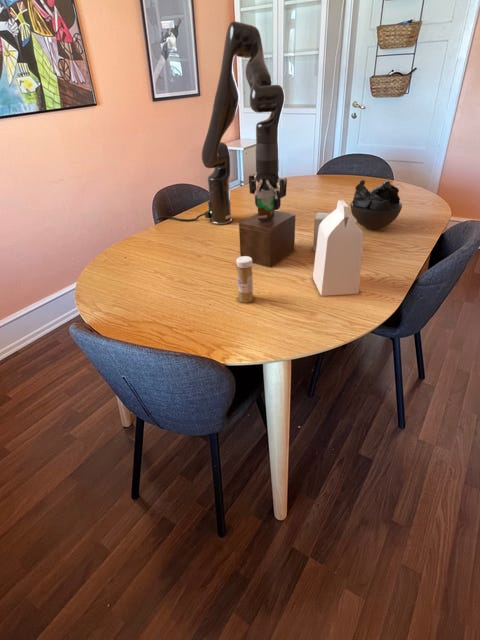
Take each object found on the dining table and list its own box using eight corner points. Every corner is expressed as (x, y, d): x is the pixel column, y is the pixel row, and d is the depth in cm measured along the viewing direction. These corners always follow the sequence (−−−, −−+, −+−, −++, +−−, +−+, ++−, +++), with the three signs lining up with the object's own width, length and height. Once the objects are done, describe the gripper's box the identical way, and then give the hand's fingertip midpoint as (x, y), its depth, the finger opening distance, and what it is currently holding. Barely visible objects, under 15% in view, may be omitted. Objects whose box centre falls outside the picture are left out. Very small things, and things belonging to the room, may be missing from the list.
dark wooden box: (240, 259, 140) (238, 222, 133) (265, 243, 152) (265, 209, 144) (270, 267, 134) (270, 229, 126) (294, 250, 145) (295, 214, 137)
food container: (275, 222, 129) (275, 192, 123) (257, 221, 130) (256, 192, 125) (279, 210, 139) (279, 182, 133) (262, 210, 140) (262, 182, 135)
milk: (312, 277, 126) (318, 198, 111) (347, 275, 126) (357, 196, 112) (321, 295, 116) (328, 211, 101) (358, 293, 116) (370, 208, 102)
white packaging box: (334, 245, 147) (337, 213, 140) (332, 252, 142) (335, 219, 135) (315, 243, 150) (317, 211, 143) (312, 251, 144) (314, 218, 137)
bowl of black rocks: (408, 228, 158) (417, 181, 148) (374, 240, 150) (382, 191, 139) (370, 216, 173) (376, 173, 162) (338, 226, 164) (342, 181, 154)
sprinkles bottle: (235, 300, 116) (233, 259, 109) (245, 294, 119) (243, 254, 111) (247, 304, 114) (245, 263, 106) (256, 298, 116) (255, 257, 109)
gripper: (292, 156, 123) (290, 207, 132) (255, 153, 130) (256, 202, 139) (280, 161, 118) (279, 214, 127) (242, 157, 125) (244, 207, 134)
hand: (267, 207), depth 133 cm, fingers closed on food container, 7 cm apart
